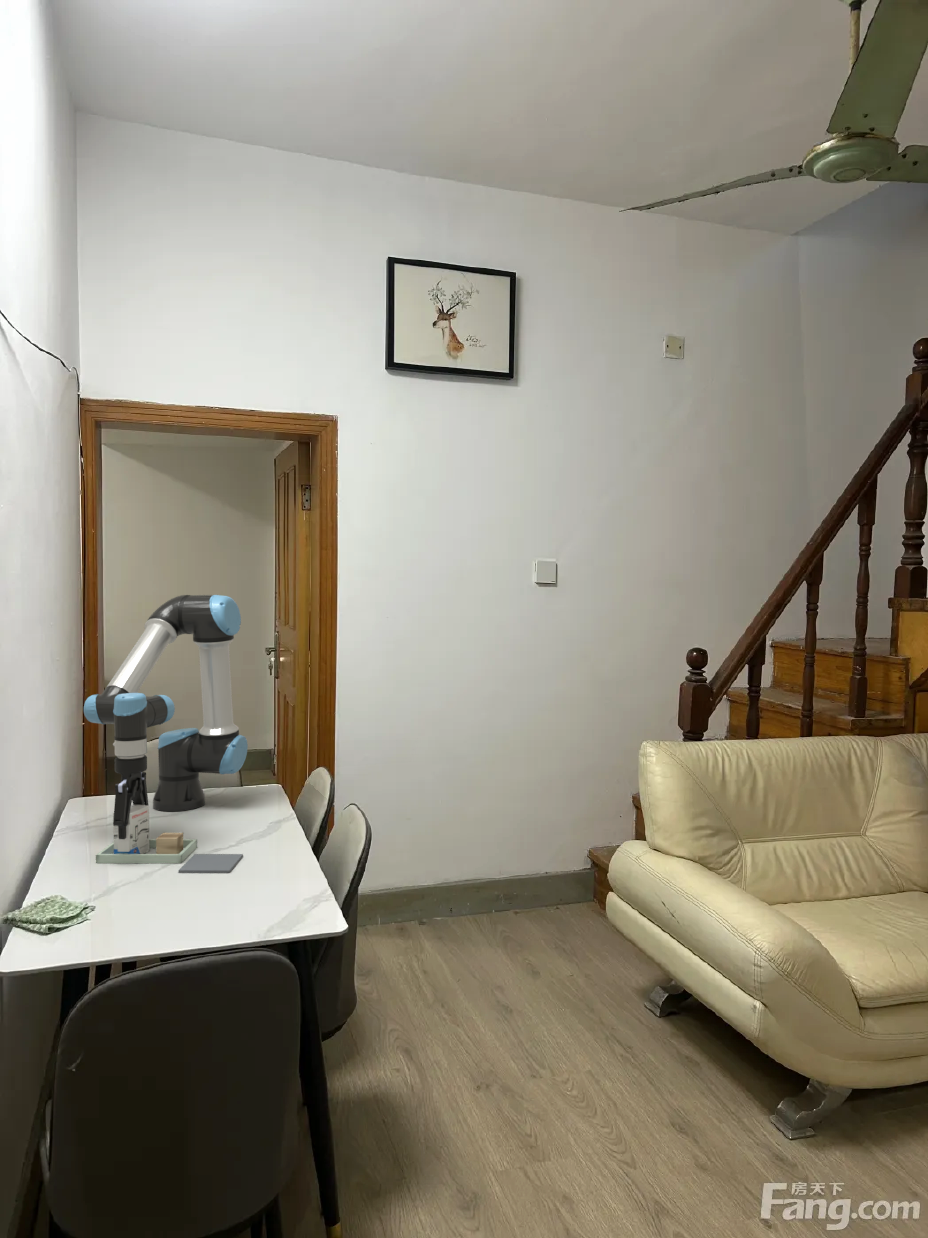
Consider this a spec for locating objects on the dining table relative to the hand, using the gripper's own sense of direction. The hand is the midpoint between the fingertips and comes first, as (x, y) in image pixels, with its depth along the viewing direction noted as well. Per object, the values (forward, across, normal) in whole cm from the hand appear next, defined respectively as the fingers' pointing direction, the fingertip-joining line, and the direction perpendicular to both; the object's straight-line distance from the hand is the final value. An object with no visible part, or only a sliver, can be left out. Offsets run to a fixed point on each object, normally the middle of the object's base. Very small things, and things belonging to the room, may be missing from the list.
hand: (131, 845), depth 209 cm
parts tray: (+2, 0, +4) cm, 5 cm away
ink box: (+3, 0, 0) cm, 3 cm away
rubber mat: (+2, +7, +22) cm, 23 cm away
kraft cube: (+3, 0, +10) cm, 10 cm away
